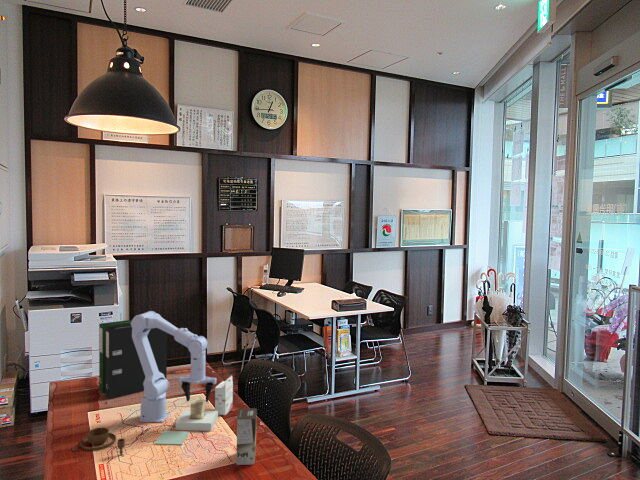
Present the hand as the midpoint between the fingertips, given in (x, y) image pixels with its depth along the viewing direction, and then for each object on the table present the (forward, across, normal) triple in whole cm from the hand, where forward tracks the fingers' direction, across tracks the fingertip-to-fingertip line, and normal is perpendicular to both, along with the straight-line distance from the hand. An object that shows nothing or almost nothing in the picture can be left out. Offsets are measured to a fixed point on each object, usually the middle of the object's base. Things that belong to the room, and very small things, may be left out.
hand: (197, 400), depth 192 cm
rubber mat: (+10, -6, -13) cm, 17 cm away
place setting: (+10, -30, -21) cm, 38 cm away
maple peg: (+10, 0, 0) cm, 10 cm away
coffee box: (+10, +24, -26) cm, 37 cm away
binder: (+10, -40, +36) cm, 55 cm away
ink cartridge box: (+10, +8, +13) cm, 18 cm away
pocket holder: (+10, 0, 0) cm, 10 cm away
